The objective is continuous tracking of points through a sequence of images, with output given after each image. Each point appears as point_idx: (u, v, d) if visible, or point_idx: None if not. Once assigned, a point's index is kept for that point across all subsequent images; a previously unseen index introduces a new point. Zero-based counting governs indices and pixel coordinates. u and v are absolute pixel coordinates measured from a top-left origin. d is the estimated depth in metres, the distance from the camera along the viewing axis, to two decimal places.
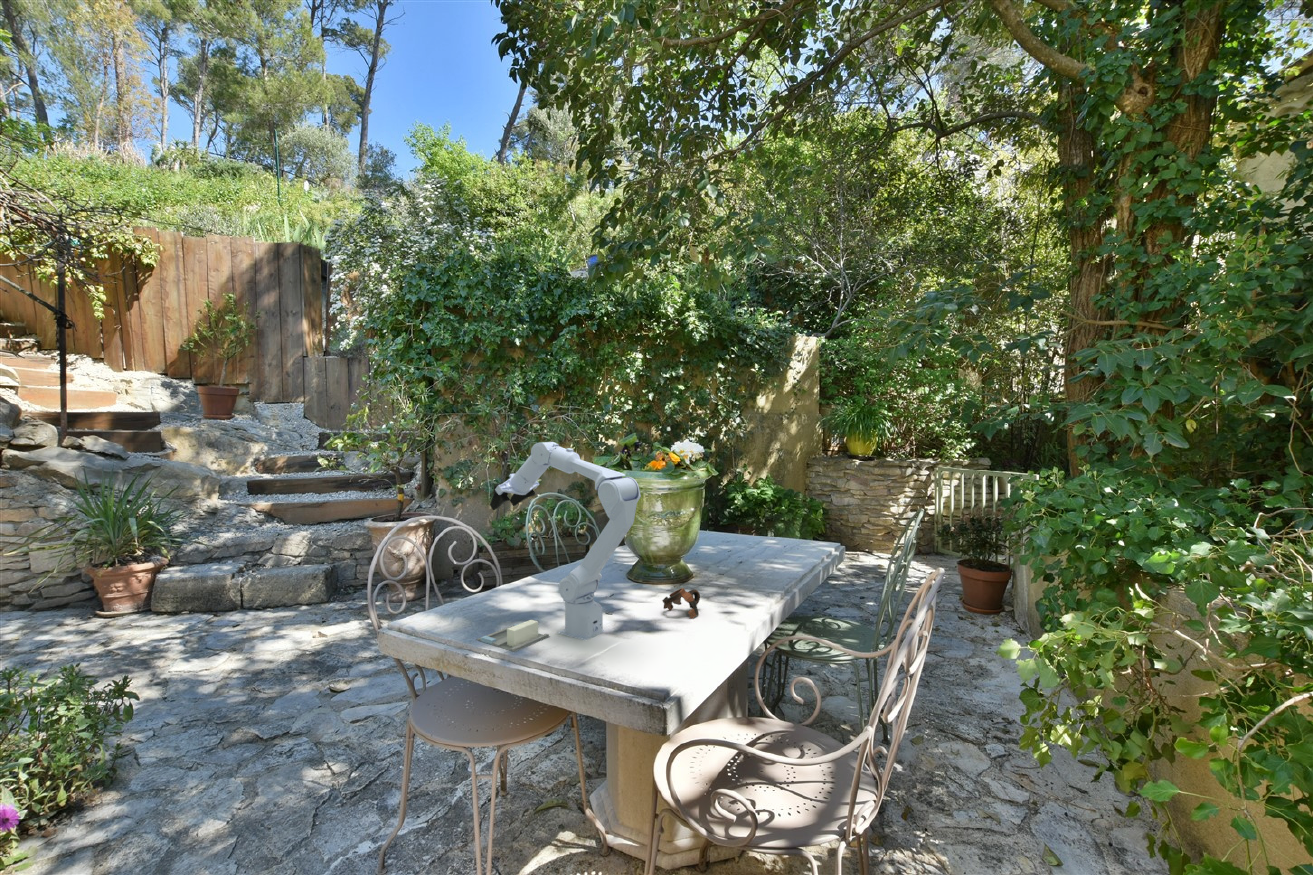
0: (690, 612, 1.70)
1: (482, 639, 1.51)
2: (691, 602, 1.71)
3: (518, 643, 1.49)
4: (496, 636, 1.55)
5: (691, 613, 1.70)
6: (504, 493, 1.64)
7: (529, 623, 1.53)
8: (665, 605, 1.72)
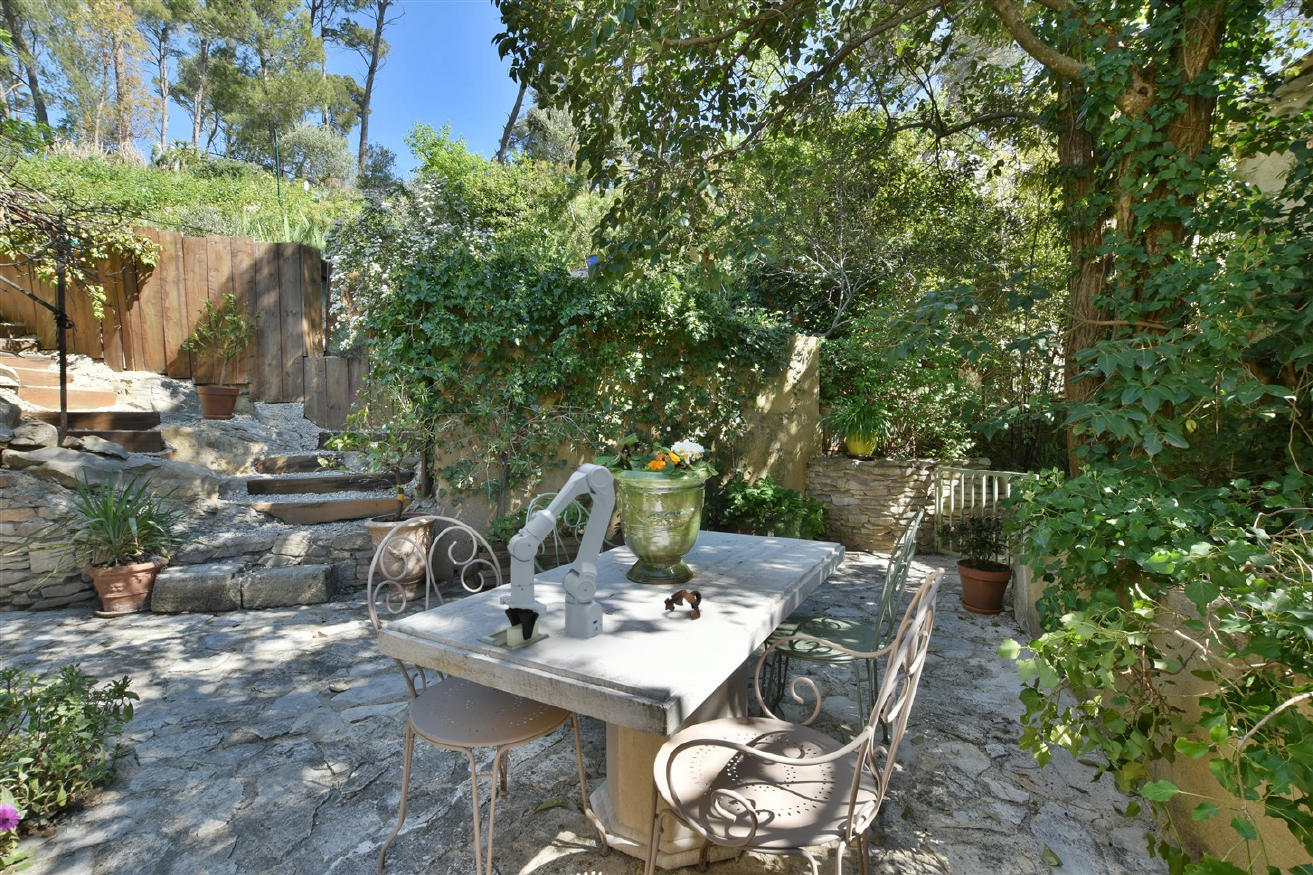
0: (692, 613, 1.69)
1: (482, 639, 1.51)
2: (693, 603, 1.70)
3: (518, 643, 1.49)
4: (496, 636, 1.55)
5: (693, 614, 1.69)
6: None
7: None
8: (667, 606, 1.71)
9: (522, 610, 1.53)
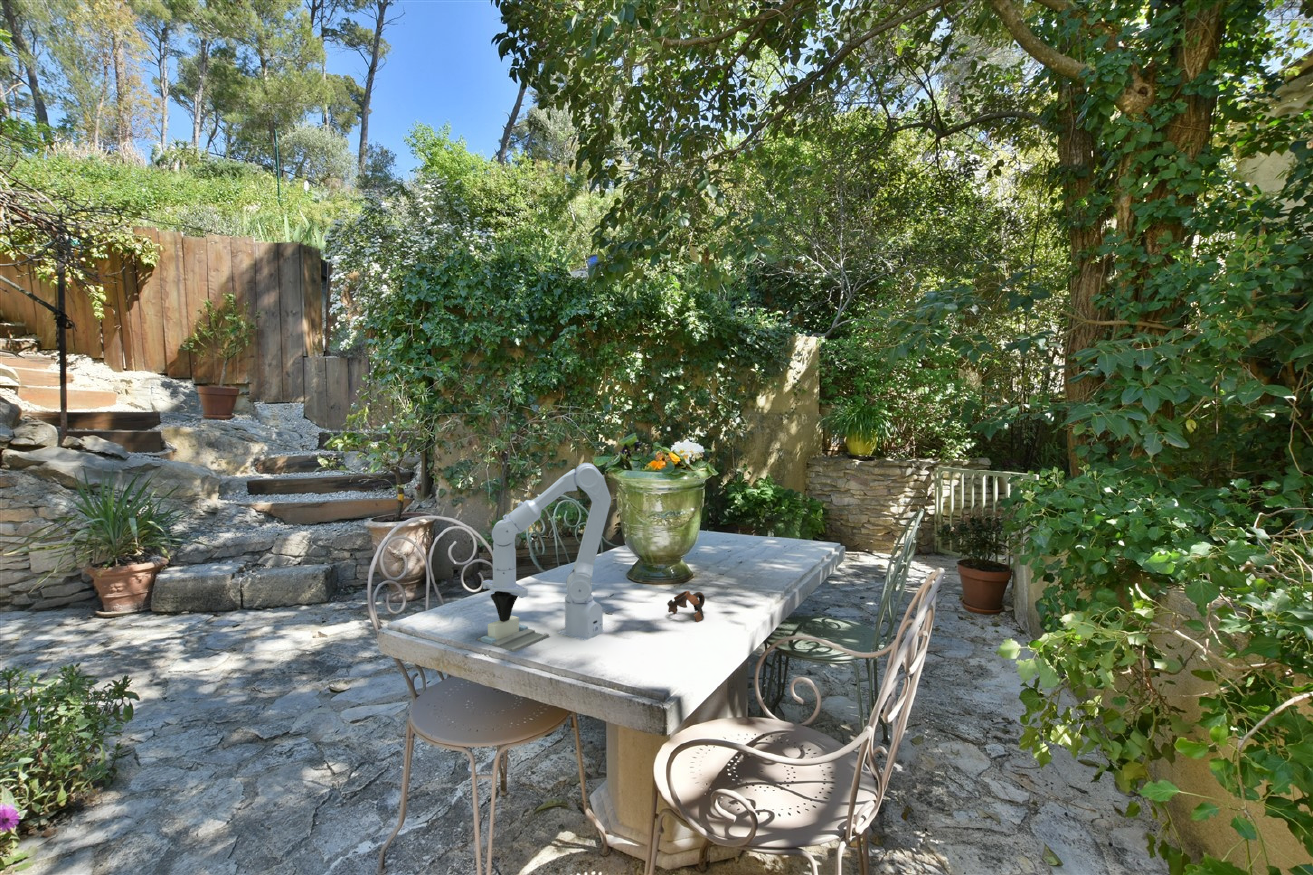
0: (696, 615, 1.67)
1: (482, 639, 1.51)
2: (697, 605, 1.68)
3: (498, 638, 1.52)
4: None
5: (697, 616, 1.67)
6: None
7: (510, 618, 1.56)
8: (670, 608, 1.69)
9: None
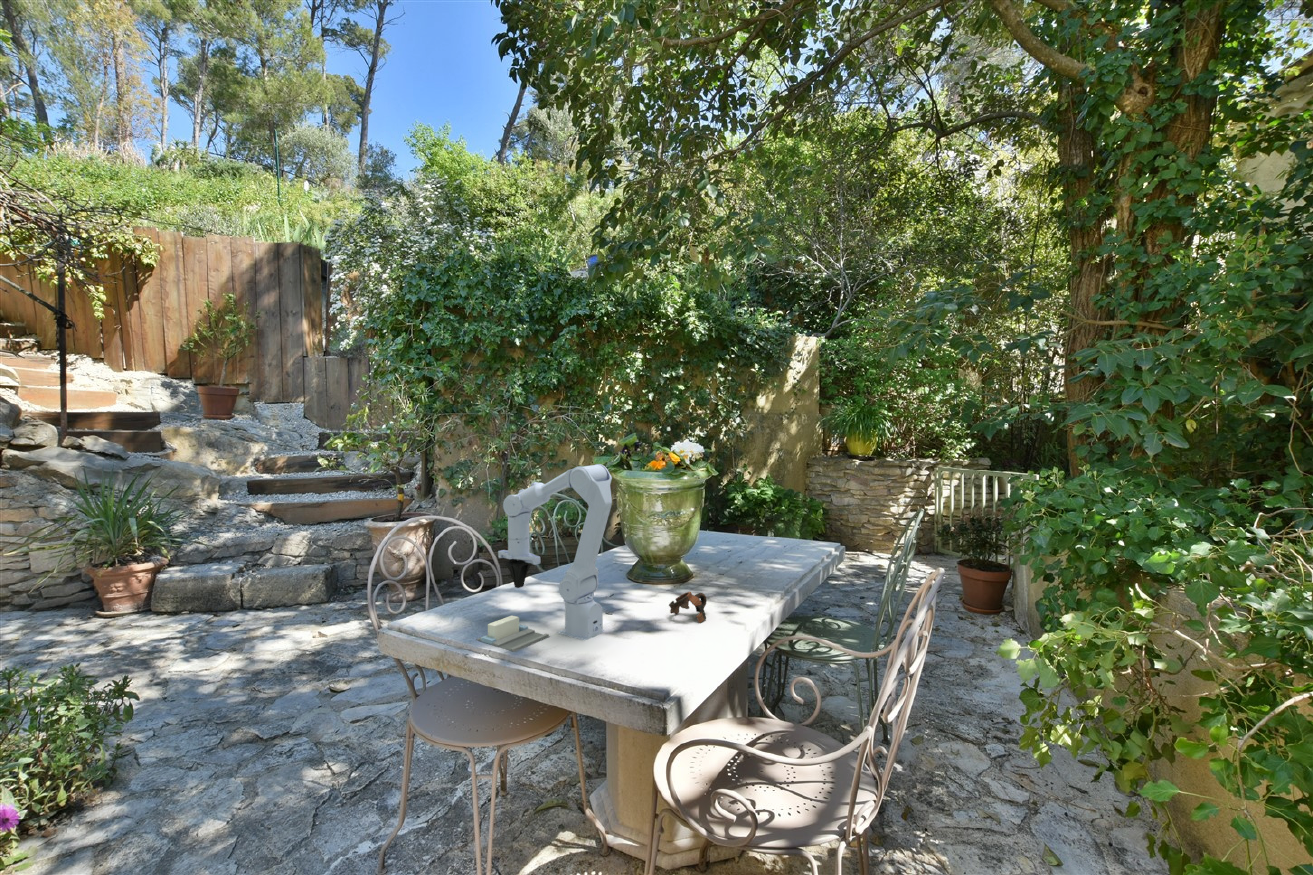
0: (698, 616, 1.66)
1: (482, 639, 1.51)
2: (699, 606, 1.68)
3: (498, 638, 1.52)
4: None
5: (699, 617, 1.66)
6: None
7: (510, 618, 1.56)
8: (672, 609, 1.68)
9: None
